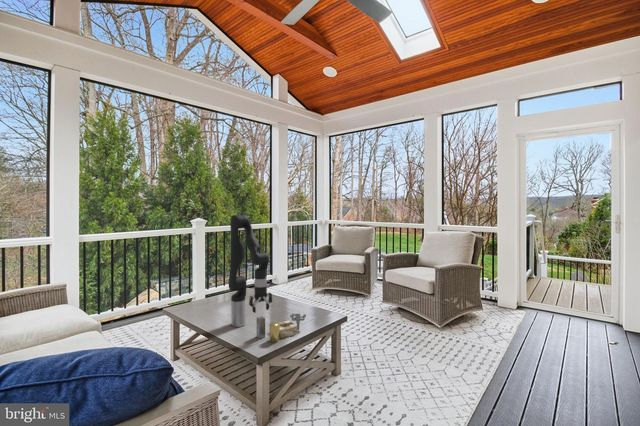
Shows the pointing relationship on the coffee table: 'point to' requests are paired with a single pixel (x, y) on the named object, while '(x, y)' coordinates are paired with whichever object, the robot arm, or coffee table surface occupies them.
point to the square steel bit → (260, 327)
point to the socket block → (287, 329)
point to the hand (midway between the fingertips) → (260, 311)
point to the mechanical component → (298, 318)
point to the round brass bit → (274, 332)
